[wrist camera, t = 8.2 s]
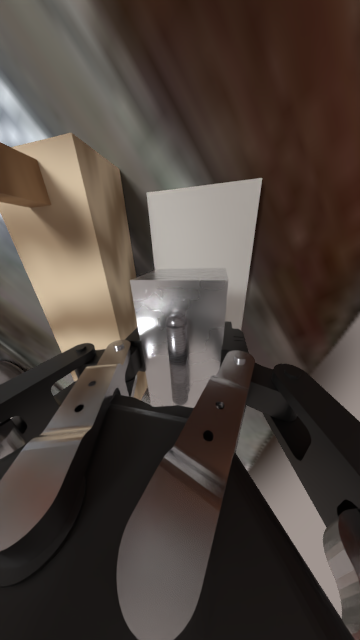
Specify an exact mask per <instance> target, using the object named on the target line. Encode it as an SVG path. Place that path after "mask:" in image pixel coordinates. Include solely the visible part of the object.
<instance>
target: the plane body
mask: <svg viewBox="0 0 360 640" xmlns="http://www.w3.org/2000/svg"><path fill="white" fill-rule="evenodd" d="M0 213H1V215H2V217H3V219H4V222H5V224H6V226H7V229H8V231H9V233H10V235H11V238H12V240H13V242H14V245H15V247H16V249H17V251H18V254H19V256H20V258H21V260H22V263H23V265H24V267H25V270H26V272H27V274H28V276H29V279H30V281H31V283H32V286H33V288H34V290H35V292H36V295H37V297H38V299H39V302H40V304H41V306H42V308H43V311H44V313H45V315H46V317H47V320H48V322H49V324H50V327H51V329H52V331H53V333H54V336H55V338H56V340H57V343H58V345H59V347H60V349H61V352H62V353H63V352H65V351H67V350H69V349H71V348H73V347H75V346H77V345H79V344H83V343H92V344H93V345H94V347H95V350H102V349H106V348H107V346H108V345H109V344H110V343H112V342H114V341H117V340H125V339H126V338H127V337H128V336H129V335H130V334H131V333H132V332H133V331H134V330H135V329H136V328H137V327H138V325H137V319H136V314H135V308H134V302H133V296H132V290H131V284H130V280H131V279H134V278H136V272H135V266H134V259H133V253H132V247H131V240H130V234H129V227H128V221H127V215H126V208H125V202H124V195H123V189H122V183H121V176H120V170H119V169H118V168H117V167H116V166H114V165H113V164H112V163H111V162H109V161H108V160H107V159H105V158H104V157H103V156H101V155H100V154H99V153H97V152H96V151H95V150H93V149H92V148H91V147H89V146H88V145H87V144H86V143H84V142H83V141H82V140H80V139H79V138H78V137H76V136H75V135H74V134H72V133H68V134H64V135H60V136H56V137H52V138H48V139H44V140H40V141H35V142H31V143H27V144H23V145H19V146H15V147H9V146H7V145H5V144H3V143H0ZM71 374H72V377H73V379H74V381H76V380H78V378H77V375H76V373H75V370H74V371H72V372H71ZM147 387H148V384H147V378H146V372H142V371H138V373H137V383H136V388H135V393H134V397H135V398H137V399H139V400H141V399H142V397H143V395H144V393H145V391H146V389H147Z"/></svg>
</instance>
